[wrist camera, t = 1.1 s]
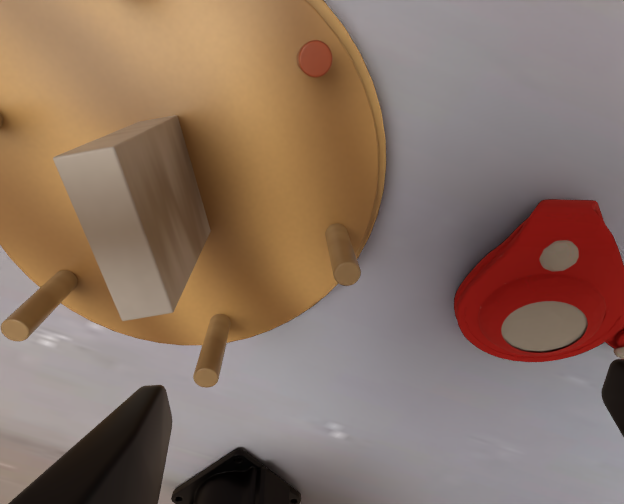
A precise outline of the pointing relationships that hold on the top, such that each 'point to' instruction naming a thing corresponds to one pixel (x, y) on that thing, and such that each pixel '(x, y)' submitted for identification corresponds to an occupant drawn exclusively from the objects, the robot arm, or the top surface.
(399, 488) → the top surface
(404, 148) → the top surface
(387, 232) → the top surface
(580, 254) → the tracker holder
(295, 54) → the drying rack
